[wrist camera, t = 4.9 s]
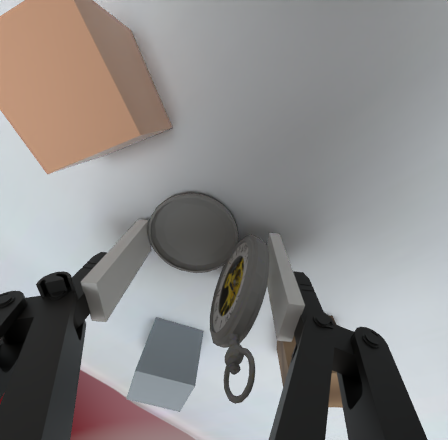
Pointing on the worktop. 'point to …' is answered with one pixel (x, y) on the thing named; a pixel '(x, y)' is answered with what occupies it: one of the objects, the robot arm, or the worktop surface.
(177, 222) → the pocket watch
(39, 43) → the terracotta cube
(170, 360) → the slate cube
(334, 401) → the walnut cube
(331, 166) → the worktop surface
